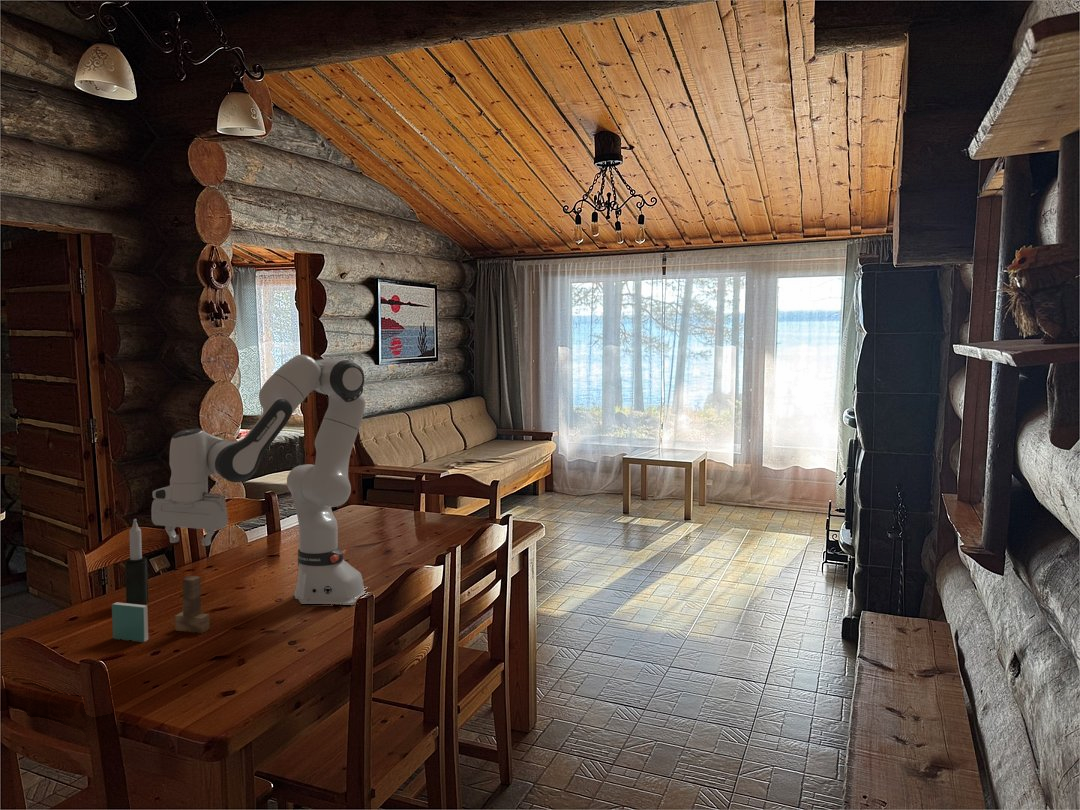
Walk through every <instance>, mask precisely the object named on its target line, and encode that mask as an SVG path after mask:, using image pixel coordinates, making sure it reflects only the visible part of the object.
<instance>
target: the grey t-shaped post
mask: <svg viewBox="0 0 1080 810" xmlns="http://www.w3.org/2000/svg"><path fill="white" fill-rule="evenodd" d="M181 587H182V611H181V612H179V613H177V614H176V615H174V624H175V625H174V627H175V628H174V630H175V631H178V632H186V633H187V631H188V633H195V632H197V634H204V633H205V632H207V631H208V629H209V630H210V626H211V625H210V624H211V623H210V614H209V613H203V612H202V604H201V603H202V601H201V598H202V596H201V593H202V592H201V576H196V575H188V576H186V577H185V578H182V586H181ZM206 630H207V631H206ZM203 632H204V633H203Z"/></svg>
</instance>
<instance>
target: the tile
mask: <svg viewBox="0 0 1080 810" xmlns="http://www.w3.org/2000/svg"><path fill="white" fill-rule="evenodd" d="M148 610H149V609H148V605H138V604H129V603H126V602H117V601H116V602H115V603H112V604H111V618H112V619H111V621H112V622H111V623H112V626H111V627H112V639H113V638H114V639H113V640H120V639H122V640H123V641H129V640H132V641H131V642H137V641H138V642H139V643H145V642H147V641H148V640H149V618H148V617H149V614H148Z"/></svg>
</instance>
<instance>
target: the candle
mask: <svg viewBox="0 0 1080 810" xmlns="http://www.w3.org/2000/svg"><path fill="white" fill-rule="evenodd" d="M132 521H133V522H132V527H131V528H130V529H129V532H128V533H129V557H128V558H127V559H126V561H125V563H124V565H125V566H124V570H125V571H124V572H125V573H124V575H125V576H124V577H125V600H126V602H125V603H129V604H138V605H146V604H148V602H149V584H148V583H149V582H148V558H147V557H145V556H143V553H142V552H143V551H142V546H143V545H142V529H141V528H140V527H139V524H138V522H137V521H138V520H137V518H134V519H133V520H132ZM147 601H148V602H147Z"/></svg>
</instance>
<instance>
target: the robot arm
mask: <svg viewBox="0 0 1080 810" xmlns="http://www.w3.org/2000/svg"><path fill="white" fill-rule="evenodd" d="M364 385H365V374H364V370H363V368H362V367H361V366H360V365H359V364H358V363H356V362H354V361H352V360H349V359H348V360H347V359H342V358H341V359H340V358H317V359H314V358H312V356H309V355H306V354H296V355H295V356H293V357H292V358H291V359H289V360H288V361H286V362H285V363H284V364H282V365H281V366H280V367H279V368H277V370H276V371H275V372H274V373H273V374H272V375H270V377H268V379H267V380H266V381H265V383H264V384H263V385H262V386H261V389H260V390H259V392H258V400H259V403H260V406H261V408H262V414H261V416H260V418H259V419H258V420H257V421H256V422H255V424H254V425H253V426H252V428H251V429H250V430H249V431H248V432H247V433H246V435H245V436H244V437H243V438H242V439H240V440H237V441H233V440H231V439H226V438H221V437H218V436H215V435H212V434H210V433H208V432H206V431H205V430H204V429H202V428H188V429H184V430H180V431H178V432H176V433H174V435H173V436H172V437H171V440H170V445H169V467H170V471H171V474H170V475H171V476H170V478H169V485H166V486H164V487H161V488H158V489H155V490H153V491H152V498H153V500H152V503H151V510H150V511H151V522H152V524H153V525H155V526H163V527H165V528H164V529H165V531H166V533H167V536H168V537H169V542H170V544H172V543H173V544H176V543H179V542H180V534H177V533H176V531H175V529H176V528H184V529H185V528H186V529H187V528H189V529H198V530H204V532H205V534H206V535H205V537H204V538H201V546H206V547H207V546H211V543H212V537H213V535H214V534H215V532H216V531H220V530H222V529H225V528H226V527H227V525H228V524H229V519H228V513H227V512H228V511H227V505H226V504H227V502H226V498H225V497H224V496H223V495H222V494H221V493H212V492H209V484H208V483H209V480H208V479H209V476H210V475H216V476H218V477H222V478H223V479H225V480H226V481H228V482H230V483H243V482H245V481H247V480H249V479H250V478H251V477H252V476H253V475H255V474H256V472H257V470H258V468H259V466H260V463H261V459H262V458H263V456H264V454H265V453H266V451H267V450H268V448H269V447H270V446H271V444H272V443H273V441H275V439H276V438H277V436H278V435H279V434H280V432H281V431H282V430H283V429H284V427H285V426H286V425H287V423H288V422H289V420H290V418H291V416H292V414H293V413H294V412H295V411H296V410H297V408H298V407H299V406H300V405H301V404H302V403H303V402H304V400H305V399H306V398H307V397H308V396H309V395H310V393H311V392H314V393H316V394H322V395H327V397H328V406H327V409H326V411H325V413H324V416H323V418H322V422H321V424H320V427H319V428H318V432H317V434H316V437H315V439H314V447H315V452H316V453H315V462H314V464H310V463H308V464H300V465H297V466H295V467H293V468H292V469H291V470H290V471H289V473H288V475H287V477H286V486H287V488H288V489H287V490H289V492H290V494H291V496H292V500H293V504H294V508H295V512H296V513H295V514H296V516H297V521H298V536H299V537H298V540H299V541H298V543H299V546H298V549H297V566H298V575H297V580H296V581H297V583H296V588H295V591H294V595H293V597H294V596H295V597H294V599H295V600H297V599H298V600H297V601H299V604H300V603H301V604H331V605H330V606H333V605H332V604H340V605H341V604H343V605H351V606H355V605H356V604H355V602H356V600H357V599H358V598H359V597H360V596H362V595H364V594H368V593H372V591H371V592H367V593H365V592H366V591H364V590H365V589H367V588H368V587H369V586H364V581H363V576H362V573H361V572H360V571H359V570H357V569H356V568H355V567H354V566H352V565H351V564H350V563H348V562H347V561H346V560H344V555H345V554H346V551H347V549H344V550H341V549H340V547H339V545H338V544H339V543H338V535H339V534H338V533H339V532H338V530H339V529H338V520H337V518H336V517H335V515H334V513H333V510H332V508H335V507H336V508H337V507H341V506H343V505H344V504H345V503H346V502H347V501H348V500H349V497H350V496H351V493H352V486H351V482H350V479H349V467H350V466H349V465H350V458H351V455H352V450H353V447H354V445H355V443H356V439H357V436H358V433H359V430H360V429H361V425H362V421H363V416H364V413H365V408H366V400H365V397H364V396H363V395H362V394H363V391H364ZM364 587H366V588H364ZM301 604H300V605H301Z"/></svg>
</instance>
